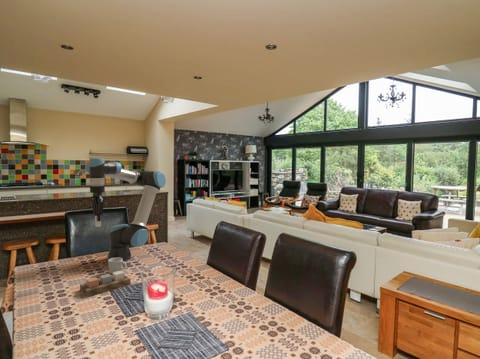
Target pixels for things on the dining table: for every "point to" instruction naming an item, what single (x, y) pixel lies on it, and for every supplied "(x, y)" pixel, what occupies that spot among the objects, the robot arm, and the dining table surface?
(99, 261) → the dining table surface
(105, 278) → the slate key
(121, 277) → the cream key
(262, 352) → the dining table surface
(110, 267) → the cup
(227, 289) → the dining table surface
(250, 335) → the dining table surface
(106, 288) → the key block
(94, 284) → the terracotta key
